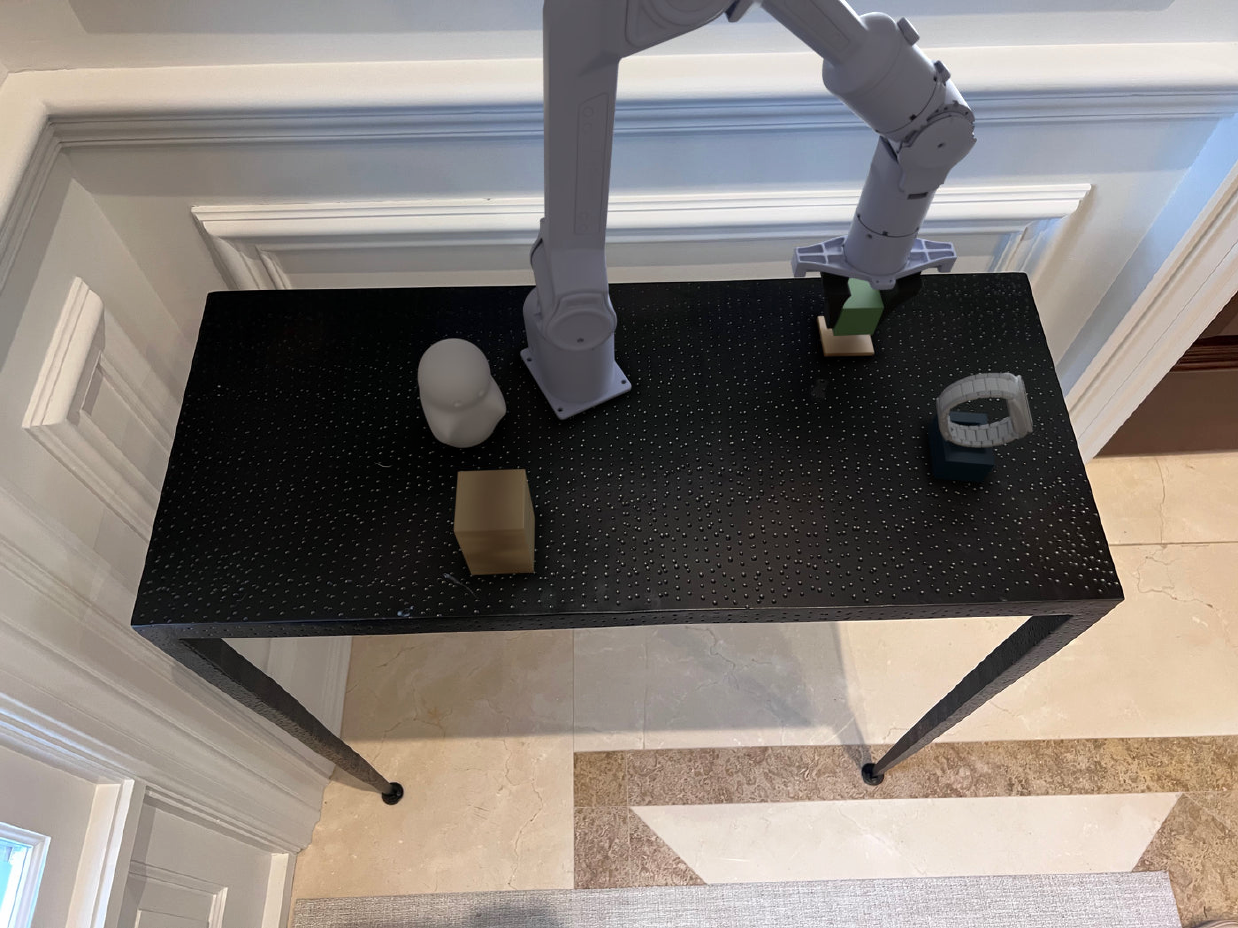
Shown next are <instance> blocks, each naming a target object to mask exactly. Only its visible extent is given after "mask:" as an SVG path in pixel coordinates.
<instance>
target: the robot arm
mask: <svg viewBox="0 0 1238 928" xmlns="http://www.w3.org/2000/svg"><path fill="white" fill-rule="evenodd" d="M759 8H760V9H762V10H764V11H765V12H766V13H767V14H769V16H771V17H772V18H773V19H775V20H776V22H778V23H779V24H781V25H782V26H783V28H784V27H785V28H786V29H787V30H788V31H789V32H790V33H791V34H793V35H794V36H795V37H796V38H798V39H799V40H800V41H801V42H802V43H804V44H805V45H806V46H807V47H809V49H811V50H812V51H814V53H816V54H817V55H818V56H819V57H821V58H822V59H823V60H822V65H821V66H822V67H821V77H822V82H823V83H822V84H823V86H824V87H825V88H826V90H827V91H828V92H830V94H832V95H833V96H834V97H835V98H836V99H837V100H838V101H839V102H840V103H842V104H843V105H844V106H845V107H846V108H847V109H848V110H849V111H850V112H852V113H853V114H854V115H855V116H856V117H857V118H859V120H861V121H862V122H863V123H864V124H865V125H866V126H867V127H868V128H869V129H870V130H871V131H872V132H874V133H875V134H877V135H879V136H878V139H877V142H876V145H875V148H874V151H873V155H872V158H871V161H870V164H869V167H868V170H867V173H866V177H865V180H864V184H863V186H862V189H861V193H860V196H859V199H858V202H857V205H856V208H855V211H854V214H853V216H852V217H853V218H852V219H851V223H850V227H849V230H848V233H847V234H844V235H841V236H837V237H834V238H831V239H828V240H825V241H821V242H819V243H818V242H817V243H815V244H812V245H806V246H798V247H794V249H793V252H792V256H791V261H790V265H791V270H792V275H793V278H795V279H797V278H801V279H802V278H805V277H806V275H807V273H819V275H820V280H821V284H822V287H823V288H822V289H823V295H824V296H823V297H824V305H823V306H824V307H823V315H822V316H824V319H825V324H826V328H827V329H833V328H834V326H835V325H836V323H837V321H838V318H839V315H840V312H841V309H842V308H843V306H844V304H845V302H846V301H847V300H848V299H849V298H850V296H852V295H851V291H850V288H849V284H848V281H849V278H855V279H859V280H864V281H868V282H869V283H870V286H871V288H873V289H875V290H879V292H880V295H881V299H882V302H883V305H884V309H883V311H882V314H881V316H880V319H879V321H878V323H877V326H876V328H879V327H880V326H881V324H882V323H883V322H884V321H885V320H886V319H887V318H888V317H889V316H890V315H891V314H892V313H893V312H894V311H895V310H896V309H897V308H898V307H900V306H901V305H902V304H904V303H905V302H907V301H908V300H910V299H912V298H914V297H916V296H918V295H920V293H921V291H922V290H923V287H924V281H923V277H922V273H923V271H926V270H928V269H937V272H938V273H939V274H948V273H949V274H950V273H951V272H952V269H953V267H954V265H955V263H956V261H957V259H958V256H957V253H956V250H955V247H954V245H953V242H951V241H949V242H948V241H947V242H946V241H945V242H944V241H942V242H941V241H935V240H929V239H925V238H919V237H918V236H919V233H920V231H921V228H922V227H923V224H924V222H925V219H926V216H927V215H928V212H929V210H930V207H931V205H932V203H933V200H934V198H935V195H936V193H937V190H938V189H939V188H940V186H941V185H942V186H943V185H944V184H945V182H946V179H947V177H948V176H949V173H950V171H951V170H952V169H953V168H954V167H955V166H956V165H958V164H959V163H960V162H961V161H962V160H963V159H964V158H966V157H967V156H968V154H969V153H970V152H971V151H972V149H973V148H974V146H975V144H976V143H977V141H978V138H977V137H975V134H974V130H975V126H976V125H975V123H974V122H976V117H975V114H974V112H973V111H972V109H971V108H970V107H969V105H968V103H967V102H966V100H965V99H964V98H963V96H962V94H961V93H960V91H959V90H958V88H957V87H956V85H955V84H954V82H953V81H952V80H951V77H952V73H951V72H950V70H949V68H948V67H947V66H946V64H945V63H944V62H943V61H942V60H941V59H939V60H936V59H931V58H929V57H928V56H927V55H926V54H925V53H924V51H922V50H921V49H920V47H919V46H918V45H917V42H919V40H920V39H921V36H920V34H919V33H918V31H917V30H916V28H915V26H914V25H913V24H912V23H911V22H910V21H909V20H908V18H907V17H905V16H903V17H901V18H899V20H898V21H895V20H894V19H893V18H892V17H891V16H890V15H889V14H888V13H885V12H879V11H875V12H874V11H873V12H868V13H865V14H864V13H863V14H861V15H858V14H857V13H856V11H855V10H854V9H853V8H852V6H851V5H849V3H848V2H847V1H846V0H543V5H542V77H543V78H542V86H543V88H542V92H543V96H542V97H543V98H542V99H543V101H542V102H543V104H542V105H543V107H542V108H543V201H544V203H543V206H544V207H543V209H544V211H543V212H544V213H543V217H541V218H540V219H539V232H538V235H537V237H536V239H535V241H534V243H533V244H532V246H531V249H530V251H529V264H530V266H531V269H532V271H533V272H532V273H533V277H534V282H535V287H534V288H533V289H531V291H530V292H529V293H528V295H527V296H526V298H525V301H524V303H523V306H522V314H523V321H524V327H525V333H526V334H525V335H526V341H527V346H528V347H526V348H524V349H522V350H521V351H520V352H519V354H520V357H521V359H522V361H523V362H524V364H525V365H526V368H527V369H528V370H529V372H530V374H531V376H532V377H533V379H534V381H535V382H536V384H537V386H538V387H539V389H540V391H541V392H542V393H543V395H544V397H545V399H546V400H547V402H548V403H549V406H550V407H551V409H552V410H553V412H554V413H555V415H556V416H557V418H558V419H559V420H562V421H563V420H566V419H568V418H571V417H573V416H575V415H578V414H580V413H582V412H584V411H587V410H589V409H591V408H594V407H596V406H598V405H600V404H603V403H605V402H607V401H610V400H612V399H615V398H616V397H619V396H621V395H623V394H625V393H627V392H630V391H631V389H632V384H631V382H630V381H629V380H628V378H627V377H626V375H625V374H624V372H623V370H622V369H621V368H620V366H619V365H618V363H617V362H616V360H615V331H616V329H617V324H618V318H617V314H616V312H615V310H614V307H613V303H612V302H611V298H610V294H609V280H608V279H609V277H608V269H607V258H606V239H607V226H608V225H607V224H608V211H609V200H610V199H609V198H610V185H611V173H612V159H613V147H614V145H613V144H614V132H615V120H616V109H617V108H616V107H617V94H618V81H619V67H620V62H621V60H623V59H625V58H628V57H630V56H633V55H636V54H638V53H640V52H642V51H646V50H648V49H651V48H654V47H655V46H658V45H660V44H661V45H662V44H663V43H666V42H668V41H670V40H671V41H672V40H673V39H676V38H679V37H681V36H683V35H686V34H689V33H691V32H694V31H696V30H698V29H701V28H703V27H705V26H707V25H708V24H709V25H710V23H712V22H714V21H716V19H719V18H720V17H721V16H722V15H723V14H725V17H726V20H727V22H728V23H730V24H731V23H732V24H734V23H737V22H739V21H740V20H742V19H744V18H745V17H747V16H748V15H750V14H751V13H752V12H755V10H757V9H759Z"/></svg>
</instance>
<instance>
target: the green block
mask: <svg viewBox="0 0 1238 928" xmlns="http://www.w3.org/2000/svg"><path fill="white" fill-rule="evenodd" d="M848 284H849V288H850V291H851V295H852V296H850V298H849V299H848V300H847V301H846V302H845V304H844V306H843V308H842V309H841V312H840V315H839V318H838V321H837V323H836V325H835V326H834V328H833V329H832V332H833V336H850V335H870V336H873V335H874V333H875V330H876V328H877V327H876V326H877V323H878V321H879V319H880V316H881V314H882V311H883V309H884V305H883V302H882V299H881V295H880V292H879V290H875V289H873V288H871V286H870V283H869V282H868V281H864V280H859V279H855V278H850V277H849V281H848Z"/></svg>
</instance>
